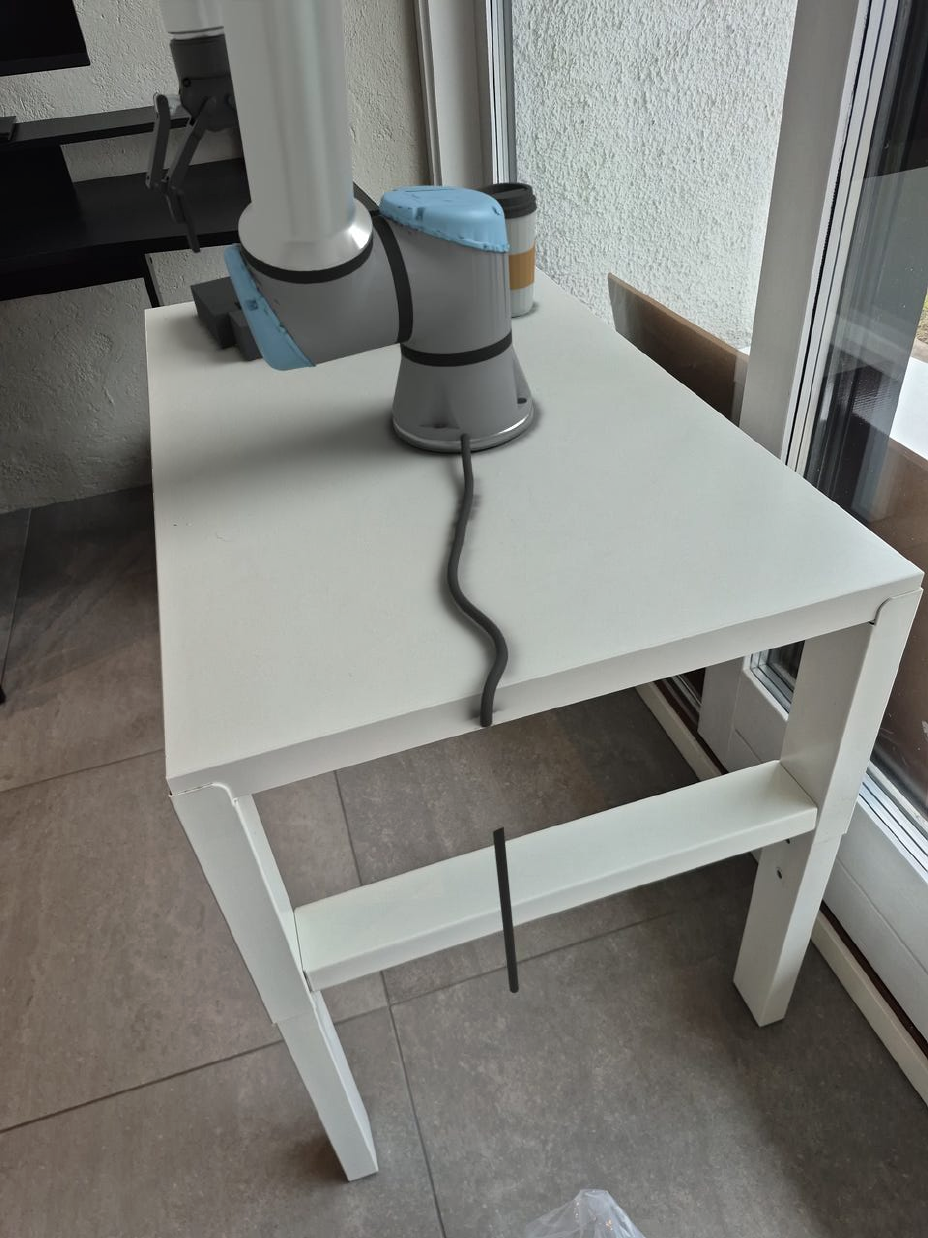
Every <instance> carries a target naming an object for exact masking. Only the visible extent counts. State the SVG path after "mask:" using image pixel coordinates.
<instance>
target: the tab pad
mask: <svg viewBox="0 0 928 1238" xmlns="http://www.w3.org/2000/svg"><path fill="white" fill-rule="evenodd" d="M240 306H241V304H240ZM229 317H230V321H231V325H232V329H233V332H234V336H235V340H236V344H237V345H236V346H237V348H238V349H239V350H240V351H241V353H242V354H243V356H244V357H245V358H246V359H247V361H248V362H249V361H253V360H256V359H261V358H263V356H262V354H261V352H260V350H259V348H258V346H257V343H256V341H255V339H254V337H253V334H252V332H251V329H250V327H249V325H248V322H247V320H246V317H245V315H244V312H243V310H242V307H241V310H237V311H233V312H229Z"/></svg>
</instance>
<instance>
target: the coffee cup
mask: <svg viewBox="0 0 928 1238" xmlns="http://www.w3.org/2000/svg"><path fill="white" fill-rule="evenodd" d="M475 191H479V192H482V193H484V194H487V195H489V196H491V197H492V198H494V199H495V200H496V201H497V202H498V203H499V204H500V206H501V207H502V210H503V212H504V217H505V227H506V234H507V241H508V244H509V251H508V259H509V281H510V303H511V318H515V317H520V316H523V315H525V314H528V313H529V312H530V311H531V309H532V306H533V304H534V284H535V271H536V270H535V269H536V267H535V266H536V265H535V264H536V212H537V210H538V205H537V197H536V195H535V194H534V191H533V186H531V184H527V183H524V182H515V181H513V182H512V181H510V182H497V183H491V184H488V185H483V186H481V187H479V188H477V189H475Z"/></svg>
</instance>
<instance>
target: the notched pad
mask: <svg viewBox="0 0 928 1238" xmlns="http://www.w3.org/2000/svg"><path fill="white" fill-rule="evenodd" d="M189 287H190V292H191V296H192V299H193V302H194V304H195V309H196V313H197V316H198V318H199V319H200V321H201V322H202V323H203V325H204V326H205V327H206V329H207V330H208V332H209V333H210V335H211V336H212V337H213V339H214V340H215V341H216V342H217V345H219V347H220V348H221V349H225V348H230V347H235V346H237V344H236V340H235V336H234V332H233V329H232V325H231V321H230V317H229V312H233V311H237V310H241V306H240V302H239V299H238V297H237V294H236V291H235V289H234V286H233V283H232V281H231V278H230V275H229V276H225V277H220V278H216V279H211V280H208V281H203V282H200V283H195V284H194V283H193V284H191V285H189Z"/></svg>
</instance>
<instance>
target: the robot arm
mask: <svg viewBox="0 0 928 1238" xmlns="http://www.w3.org/2000/svg"><path fill="white" fill-rule="evenodd" d="M157 1H158V5H159V9H160V13H161V17H162V21H163V25H164V29H165V32H167V33H168V34H171V35H172V37H173V38H171V39H170V41H169V43H168V46H169V49H170V53H171V57H172V61H173V65H174V69H175V73H176V78H177V81H178V93H165V94H164V93H161V92H159V91H156V92H154V94H153V95H152V101H153V108H154V115H155V118H154V124H153V130H152V138H151V144H150V150H149V157H148V161H147V162H148V164H147V168H146V175H145V185H146V187H147V188H148V189H149V191H151V192H153V193H160V194H165V197H166V201H167V203H168V208H169V211H170V215H171V218H172V219H173V221H174V222H175V223H176V224H177V225H181V224H183V228H184V232H185V235H186V240H187V242H188V246H189V249H190V250H191V251H192V252H193V253H194V254H199V253H201V252H202V251H201V246H200V243H199V239H198V235H197V231H196V228H195V224H194V220H193V217H192V213H191V209H190V205H189V202H188V198H187V194H186V193H185V192H184V191H183V190H182V189H181V188H180V187H181V184H182V182H183V180H184V177H185V175H186V173H187V171H188V169H189V166H190V164H191V162H192V159H193V158H194V155H195V153H196V151H197V149H198V146H199V144H200V141H202V139H203V137H204V135H205V133H206V131H208V132H211V133H219V132H222V131H223V130H225V129H231V130H235V129H239V131H240V138H241V142H242V143H241V145H242V151H243V157H244V162H245V169H246V175H247V181H248V188H249V194H250V199H251V202H250V203H249V204H248V205H247V206H246V208H244V210H243V211H242V213H241V215H240V217H239V220H238V228H237V229H238V232H237V233H238V237H239V243H236V242H234V243H232V245H231V246H228V247H226V248H225V249H224V250H223V258H224V263H225V266H226V269H227V273H228V275H229V276H230V278H231V281H232V283H233V286H234V289H235V291H236V294H237V297H238V299H239V302H240V304H241V307H242V310H243V312H244V315H245V317H246V320H247V322H248V325H249V327H250V329H251V332H252V334H253V337H254V339H255V341H256V343H257V346H258V348H259V350H260V352H261V354H262V356H263V357H262V358H263V361H264V362H265V363H266V365H268V366H269V367H270V368H272V369H273V370H275V371H282V372H286V371H293V370H297V369H304V368H309V369H310V368H315V367H316V366H317V365H320V364H325V363H328V362H332V361H336V360H339V359H343V358H347V357H350V356H351V357H352V356H354V355H360V354H362V353H365V352H366V353H367V352H370V351H375V350H378V349H383V348H386V347H390V346H395V345H398V344H399V349H400V362H399V363H400V364H399V370H398V374H397V379H396V385H395V390H394V395H393V401H392V412H391V413H392V422H393V428H394V432H395V434H396V435H397V436H398V437H399V438H400V439H401V440H402V441H404V442H405V443H407V444H409V445H411V446H413V447H416V448H419V449H422V450H426V451H431V452H439V453H440V452H441V453H461V462H462V472H463V481H464V482H463V483H464V488H463V497H462V503H461V508H460V511H459V514H458V519H457V523H456V527H455V533H454V538H453V543H452V547H451V550H450V554H449V557H448V561H447V562H448V563H447V568H446V569H447V570H446V579H447V586H448V589H449V592H450V594H451V596H452V599H453V600H454V602H455V603H456V605H457V606H458V607H459V608H460V609H461V610H462V612H463V613H465V614H466V615H467V616H468V617H469V618H471V619H472V620H473V621H474V622H475V623H476V624H478V625H479V626H480V627H481V628H482V629H483V630H484V631H485V632H486V633H487V634H488V635H489V637H490V638H491V640H492V642H493V645H494V647H495V653H496V654H495V655H496V656H495V657H496V658H495V661H494V664H493V666H492V668H491V670H490V672H489V674H488V676H487V678H486V681H485V683H484V686H483V690H482V692H481V693H482V694H481V698H480V710H479V711H480V712H479V723H480V726H481V727H482V728H485V729H488V728H490V727H492V725H493V712H494V711H493V708H494V698H495V694H496V690H497V687H498V685H499V682H500V681H501V678H502V676H503V674H504V673H505V670H506V668H507V665H508V662H509V661H508V660H509V649H508V648H509V647H508V645H507V642H506V639H505V637H504V635H503V633H502V632H501V630H500V628H499V627H498V625H496V623H494V622H493V620H491V619H490V618H489V617H488V616H487V615H486V614H485V613H483V612H482V611H481V610H480V609H478V607H476V606H475V605H474V604H473V603H471V601H470V600H469V599H468V598H467V597H466V596H465V595H464V593H463V592H462V589H461V587H460V583H459V576H458V575H459V574H458V573H459V572H458V570H459V563H460V558H461V554H462V551H463V546H464V542H465V536H466V530H467V524H468V520H469V516H470V512H471V509H472V504H473V498H474V487H475V485H474V484H475V483H474V473H473V465H472V464H473V463H472V454H471V452H473V451H474V452H475V451H479V450H480V451H481V450H484V449H488V448H492V447H495V446H499V445H501V444H504V443H506V442H508V441H511V440H512V439H514V438H516V437H517V436H519V435H521V434H522V433H523V432H524V431H525V430H526V429H528V427H529V426H530V424H531V423H532V421H533V418H534V401H533V396H532V392H531V388H530V386H529V383H528V381H527V379H526V375H525V373H524V370H523V369H522V366H521V363H520V360H519V358H518V355H517V353H516V351H515V348H514V343H513V327H512V317H511V303H510V281H509V259H508V251H509V244H508V241H507V234H506V227H505V217H504V212H503V210H502V207H501V206H500V204H499V203H498V202H497V201H496V200H495V199H494V198H492V197H491V196H489V195H487V194H484V193H482V192H479V191H476V189H475V190H474V189H471V188H465V187H460V186H459V187H458V186H450V185H449V186H448V185H413V186H404V187H398V188H394V189H393V190H391V191H386V192H384V193H383V194H382V195H381V197H380V200H379V201H380V202H379V205H378V210H379V213H380V214H378V215H374V216H371V214H370V212H369V210H368V208H366V206H365V205H364V204H363V203H362V202H361V201H360V200H358V199H357V198H356V197H355V196H354V195H355V194H354V180H353V179H354V178H353V176H354V175H353V162H352V161H353V160H352V145H351V144H352V143H351V142H352V141H351V126H350V125H351V124H350V109H349V108H350V106H349V91H348V90H349V89H348V74H347V73H348V70H347V56H346V41H345V40H346V37H345V21H344V18H345V17H344V1H343V0H157ZM179 106H181V108H183V110H184V111H186V113H188V114H189V115H190V116H189V120H188V122H187V124H186V126H185V131H184V133H183V136H182V137H181V140H180V142H179V145H178V148H177V149H176V152H175V154H174V157H173V158H172V161H171V164H170V166H169V168H168V171H167V173H166V175H165V177H164V179H163V175H164V167H165V161H166V156H167V148H168V143H169V137H170V131H171V125H172V117H174V116H175V115H176V113H177V108H178V107H179ZM492 839H493V847H494V857H495V866H496V876H497V877H496V878H497V883H498V886H497V887H498V894H499V895H498V896H499V904H500V913H501V921H502V922H501V923H502V931H503V940H504V941H503V942H504V950H505V958H506V959H505V960H506V967H507V977H508V978H507V979H508V987H509V992H511V993H512V994H516V993H518V992H519V991H520V985H519V975H518V974H519V973H518V964H517V963H518V962H517V954H516V941H515V933H514V932H515V931H514V922H513V921H514V920H513V911H512V900H511V889H510V878H509V870H508V867H509V866H508V859H507V858H508V857H507V847H506V846H507V845H506V835H505V826H501V827H499V828H497V829H495V830H493V831H492Z"/></svg>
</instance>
